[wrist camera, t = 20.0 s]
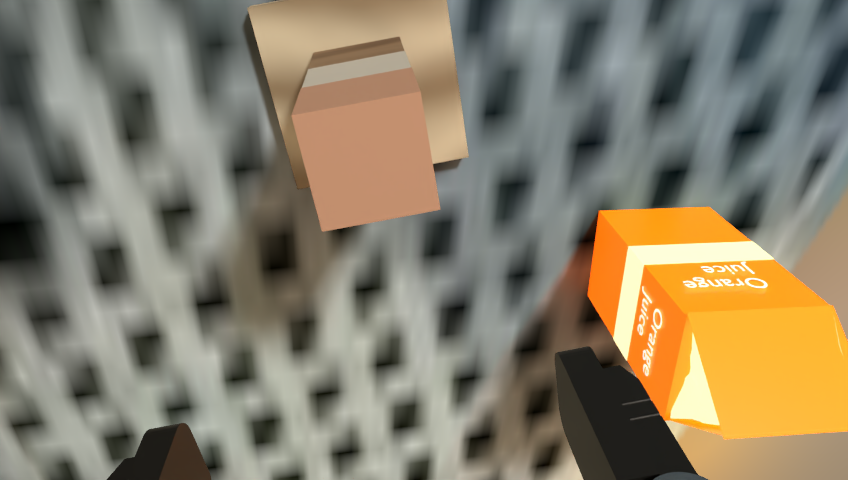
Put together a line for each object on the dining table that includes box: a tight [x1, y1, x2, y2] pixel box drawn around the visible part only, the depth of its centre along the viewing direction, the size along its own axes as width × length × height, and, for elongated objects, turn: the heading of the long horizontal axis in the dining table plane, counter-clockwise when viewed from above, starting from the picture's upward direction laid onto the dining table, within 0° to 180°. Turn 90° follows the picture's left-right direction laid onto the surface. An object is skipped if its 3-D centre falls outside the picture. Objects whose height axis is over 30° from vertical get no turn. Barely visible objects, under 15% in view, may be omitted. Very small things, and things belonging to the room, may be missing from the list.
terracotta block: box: [291, 67, 440, 232], centre depth 30 cm, size 6×6×5 cm
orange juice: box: [588, 207, 848, 439], centre depth 41 cm, size 8×9×20 cm
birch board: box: [248, 0, 469, 189], centre depth 42 cm, size 12×12×1 cm
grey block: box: [302, 51, 411, 88], centre depth 35 cm, size 6×6×5 cm
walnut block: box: [308, 37, 404, 69], centre depth 39 cm, size 6×6×5 cm
